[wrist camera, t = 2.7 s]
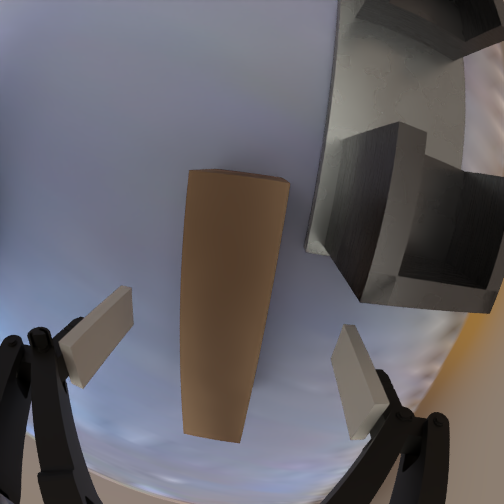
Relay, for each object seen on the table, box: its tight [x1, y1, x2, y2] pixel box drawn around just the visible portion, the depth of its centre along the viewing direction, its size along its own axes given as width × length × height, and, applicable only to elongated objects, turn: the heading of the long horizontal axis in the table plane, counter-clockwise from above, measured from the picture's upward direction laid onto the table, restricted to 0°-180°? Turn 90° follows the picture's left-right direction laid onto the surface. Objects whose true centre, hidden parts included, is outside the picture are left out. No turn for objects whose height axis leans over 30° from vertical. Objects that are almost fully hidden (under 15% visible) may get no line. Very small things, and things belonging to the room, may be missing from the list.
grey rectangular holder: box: [304, 0, 504, 314], centre depth 10 cm, size 10×23×8 cm, turn 172°
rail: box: [180, 169, 290, 443], centre depth 16 cm, size 4×17×6 cm, turn 172°
